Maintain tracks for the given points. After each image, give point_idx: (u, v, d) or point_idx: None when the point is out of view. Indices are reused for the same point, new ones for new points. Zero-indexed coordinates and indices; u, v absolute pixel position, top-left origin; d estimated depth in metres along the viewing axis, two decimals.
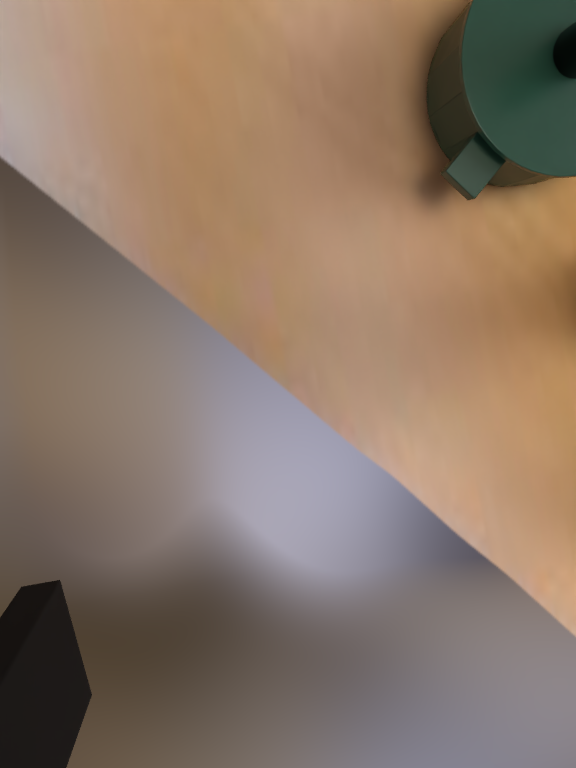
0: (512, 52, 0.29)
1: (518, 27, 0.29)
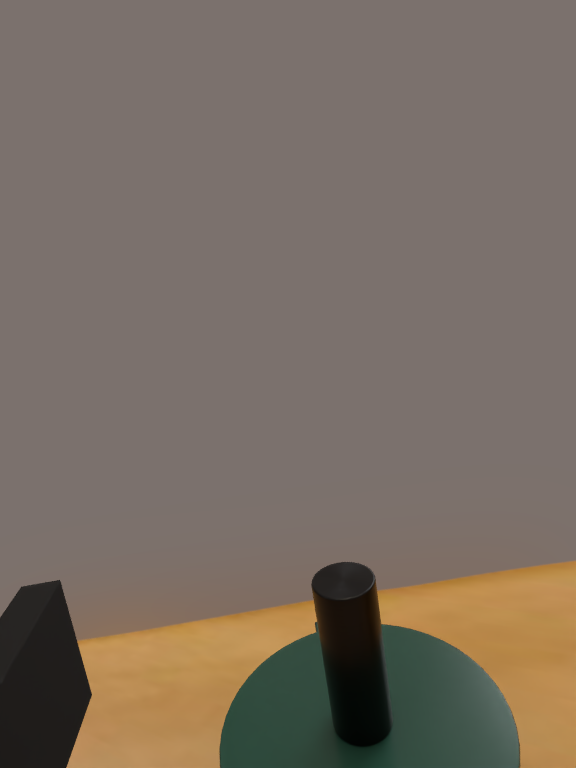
0: None
1: (291, 760, 0.22)
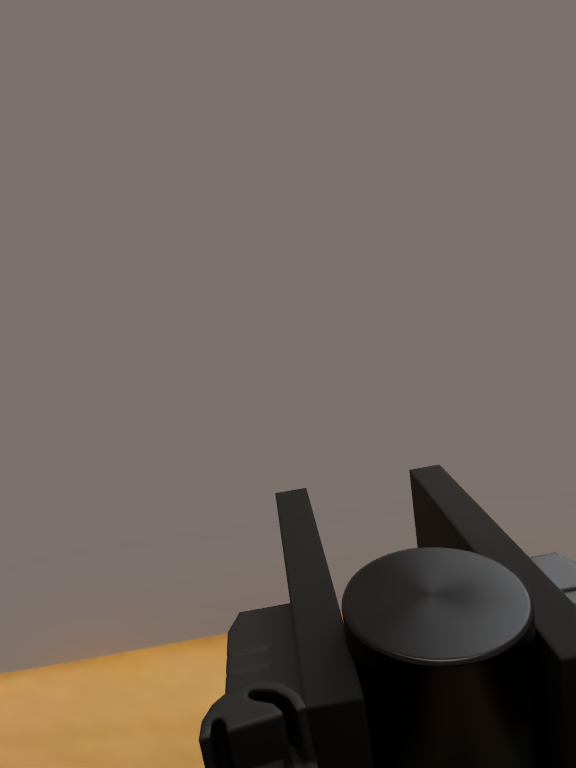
0: None
1: None
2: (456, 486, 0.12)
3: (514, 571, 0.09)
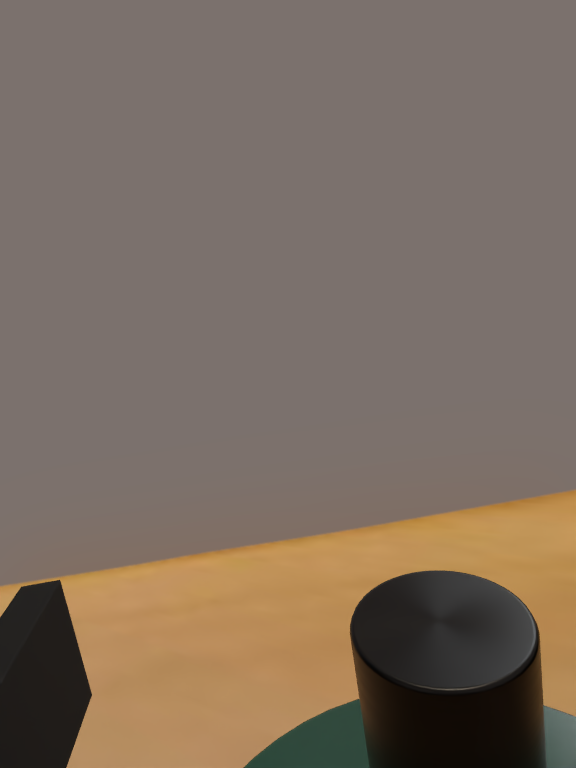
0: None
1: None
2: None
3: None
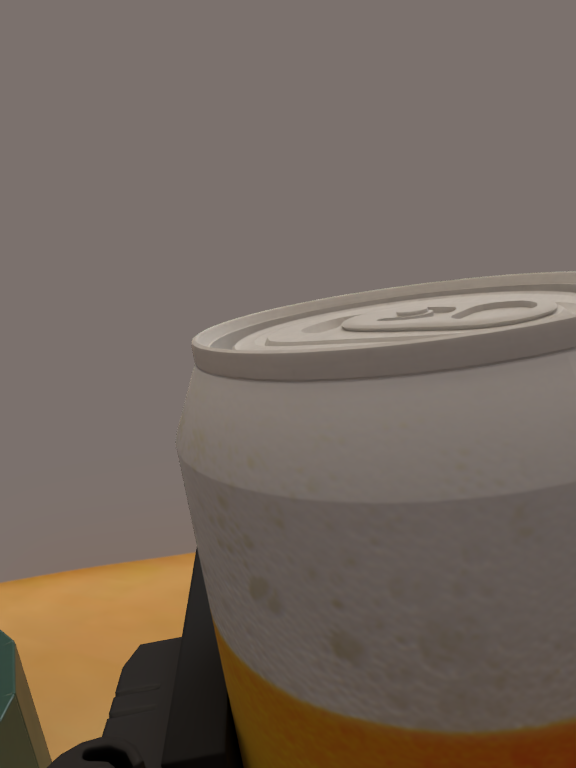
0: None
1: None
2: None
3: None
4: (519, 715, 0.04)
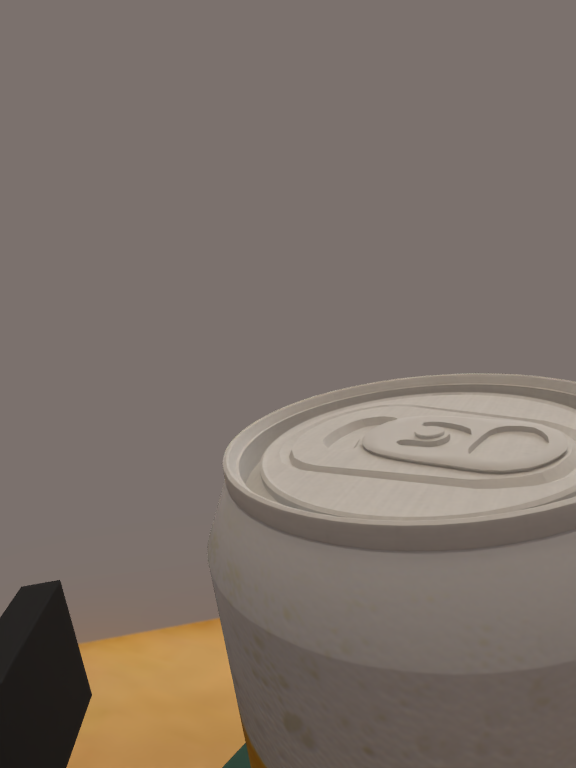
0: None
1: None
2: None
3: None
4: None
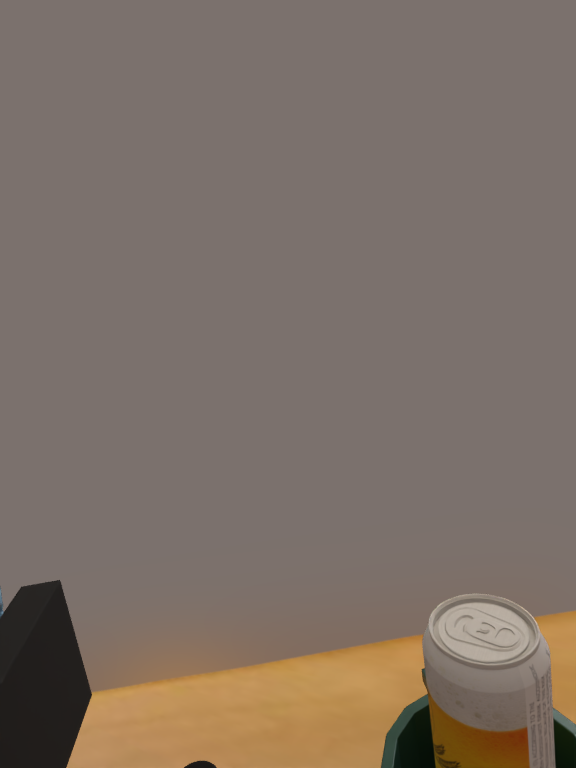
0: None
1: None
2: None
3: None
4: (509, 728, 0.25)
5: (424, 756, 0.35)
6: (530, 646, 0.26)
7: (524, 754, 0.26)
